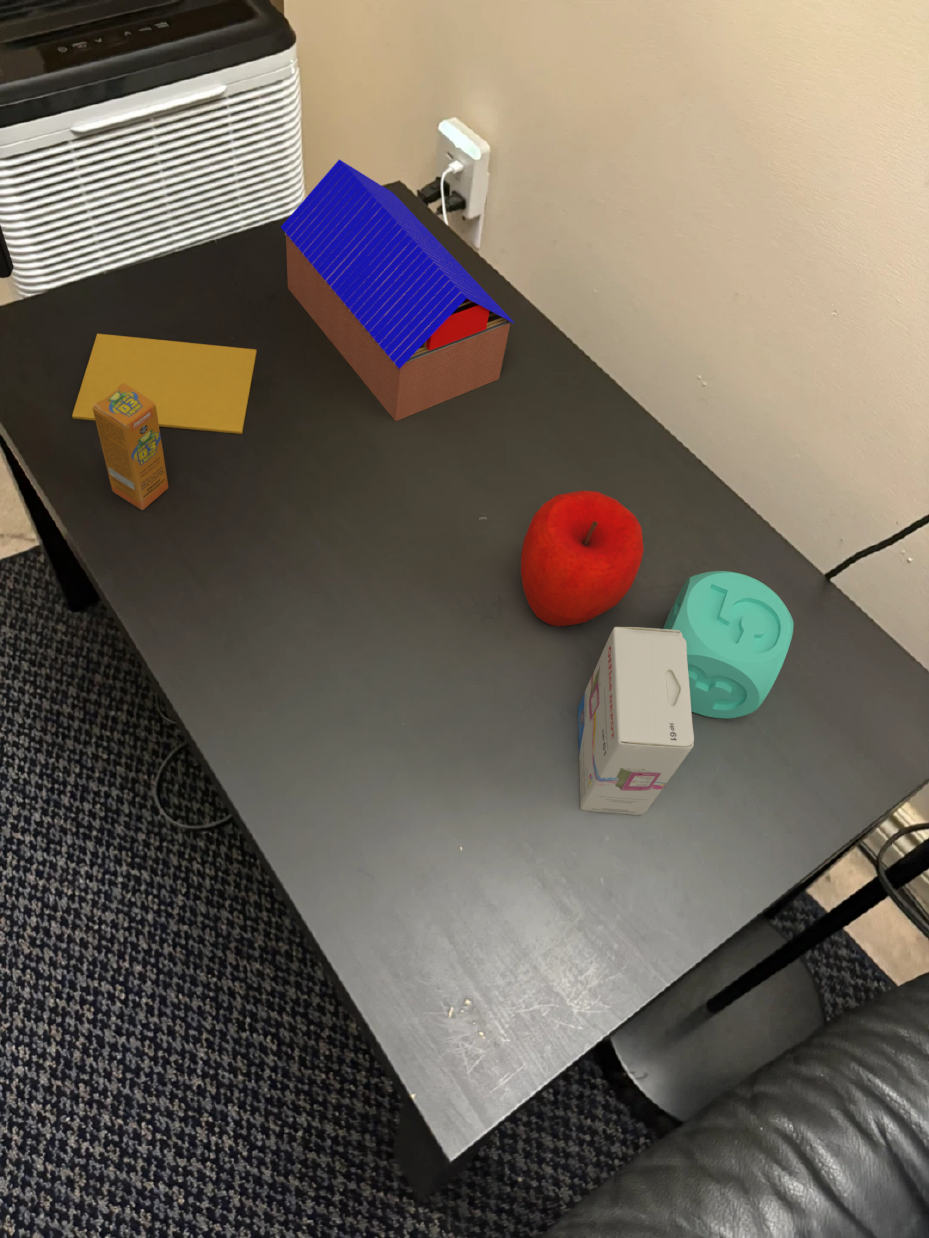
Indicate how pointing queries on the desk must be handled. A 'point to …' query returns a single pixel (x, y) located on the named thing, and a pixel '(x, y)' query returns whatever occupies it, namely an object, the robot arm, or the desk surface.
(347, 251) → the house
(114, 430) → the supplement box
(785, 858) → the desk surface
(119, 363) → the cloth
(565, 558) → the apple
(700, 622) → the decorative dice
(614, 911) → the desk surface
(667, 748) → the ink box
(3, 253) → the robot arm
